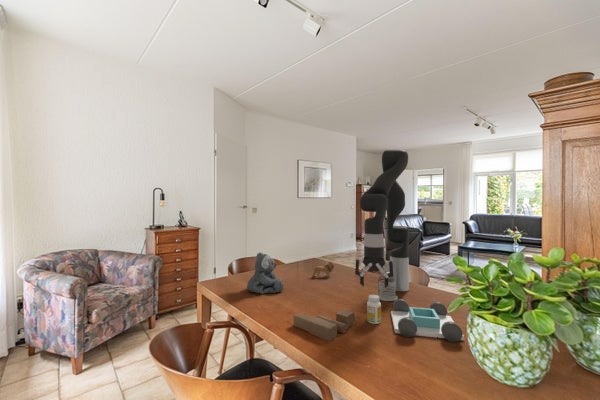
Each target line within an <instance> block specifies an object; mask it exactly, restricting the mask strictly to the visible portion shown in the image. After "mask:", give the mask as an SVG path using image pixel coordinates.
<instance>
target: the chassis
mask: <svg viewBox="0 0 600 400" xmlns="http://www.w3.org/2000/svg"><path fill="white" fill-rule="evenodd" d="M392 305H393V306H392V307H393V310H391V311H390V315H391V320H392V325H393V330H394V333H395V334H399V335H402V336H403V337H405V338H412V337H414V336H420V337H427V338H429V337H430V338H437V337H438V339H445V340H447V341H448V342H450V341H451V342H450V343H457V342H459V341H465V336H464V334H463V330H462V329H461V327H460V325H459V324H457V323H456V322H455V321H454V320H453V318H452V316H451V315H447V314H448V309H447V308H446V306H445V305H444V304H443V302H439V301H434V302H431V303H430V305H429V308H426V307H414V306H413V307H412V306H409V304H408V302H407V301H406V300H405V299H403V298H398V299H397V300H394V301H393V303H392Z"/></svg>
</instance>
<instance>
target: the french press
mask: <svg viewBox="0 0 600 400" xmlns="http://www.w3.org/2000/svg"><path fill="white" fill-rule="evenodd" d="M384 249H387V246H386V245H384ZM385 255H386V254H385V253H384V260H386V257H385ZM383 269H384V270H385V271H386V273H390V272H389V267H388V266H387V264H385V265H384V266H383ZM393 270H394V268H393ZM378 272H379V271H378ZM378 272H376V271H374V273H372V275H371V282H372V284H373V286H374V287H375V288H377V291H378V294H376V295H377V296H379V301H380V300H381V301H384V302H394V301H395V300H397V299H399V296H398V295H396V291H395V280H394V279H393V278H394V277H389V278H388V286H387V288H385V287H384V277H385V276H384V275H383V274H381V275H380V274H379V273H378ZM375 275H377V277H378V279H377V283H378V284H377V285H376V284H375V283H374V277H375ZM391 286H392V287H391Z"/></svg>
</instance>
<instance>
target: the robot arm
mask: <svg viewBox="0 0 600 400" xmlns="http://www.w3.org/2000/svg"><path fill="white" fill-rule="evenodd" d="M408 162H409V153H408V152H407V151H406V150H404V149H386V150H384V151H383V152H382V155H381V167H382V173H381V174H380V175H378V176H377V178H376V179H375V181H374V183H373V185H372V186H371V187H369V188H368V189H367V190H366V191H365V192H364V193H363V194H362V196H361V197H360V199H359V207H360V209H361V210H362V211H363V212H366V213H375V214H374V216H373V217H368V218H366V219H364V227H363V228H364V230H363V231H364V236H363V259H359V258H356V260H355V272H354V273H355V275H356V276H359V284H360V285H361V287H364V285H365V283H364V282H365V279H364V278H365V274H367V272H368V271H369V272H376V273H377V272H380V273H381V275H384V276H385V277H384V280H383V281H384V285H383V286H384V287H385V288H384V289H386V288H387V286H388V283H389V282H388V278H389V277H394V278H393V279H394V280H395V292H408V291H409V290H410V276H409V275H410V267H409V266H410V265H409V264H410V263H409V261H410V259H409V256H410V255H409V241H410V240H409V239H410V238H409V237H410V230H409V227H408V226H405V225H404V226H403V225H401V226H400V225H394V224H395V222H396V220H397V219H398V217H399V216H400V215H401V213H402V212H403V211H404V209H405V206H406V193H405V191H404V190H403V188H402V187H401V185H400V184H399V183H398V181H397V180H398V179H399V177H400V176H401V175H402V174H403V172H404V171H405V170H406V168H407V166H408V164H409V163H408ZM385 215H386V239H387V242H388V243H390V244H398V245H399V244H400V245H401V246H399V247H397V248H393V249H392V250H390V252H389V255H390V256H389V260H386V259H384V254H385V248H384V246H385V241H384V220H385ZM362 264H363V265H364V267H363V269H362V270H361V271H360V269H359V268H360V265H361V266H362ZM384 265H387V266H388V267H389V272H386V271H385V270H384V269H383V266H384ZM393 268H394V270H393ZM391 287H392V286H391Z"/></svg>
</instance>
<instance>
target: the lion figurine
mask: <svg viewBox="0 0 600 400" xmlns="http://www.w3.org/2000/svg"><path fill="white" fill-rule="evenodd" d="M334 269H335V262H333V261H329V262H328V263H327V264H326V265H325V266H321V265H317V266H315V268H314V270H313V274H312V275H311V278H313V277H314V276H316V277H318V279H319V278H320V279H321V276H320V273H325V274H326V277H328V278H331V276H330V274H331V272H333V271H334ZM316 274H317V275H316Z"/></svg>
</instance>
